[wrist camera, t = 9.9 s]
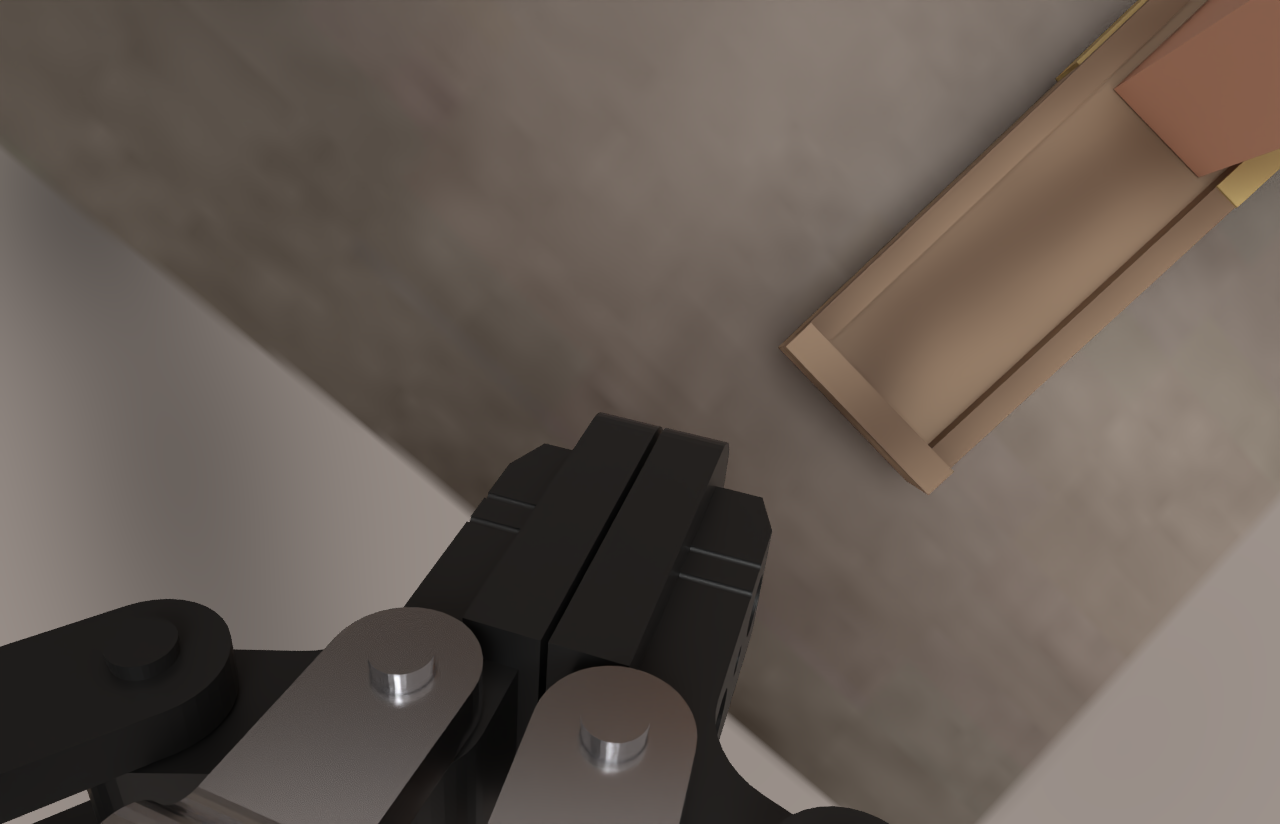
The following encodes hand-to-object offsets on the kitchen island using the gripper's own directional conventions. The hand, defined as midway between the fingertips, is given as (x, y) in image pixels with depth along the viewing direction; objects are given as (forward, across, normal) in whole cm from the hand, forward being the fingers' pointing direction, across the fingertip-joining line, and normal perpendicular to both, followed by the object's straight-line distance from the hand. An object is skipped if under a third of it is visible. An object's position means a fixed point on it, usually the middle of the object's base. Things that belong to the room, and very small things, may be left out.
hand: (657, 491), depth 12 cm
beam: (+29, -10, 0) cm, 31 cm away
